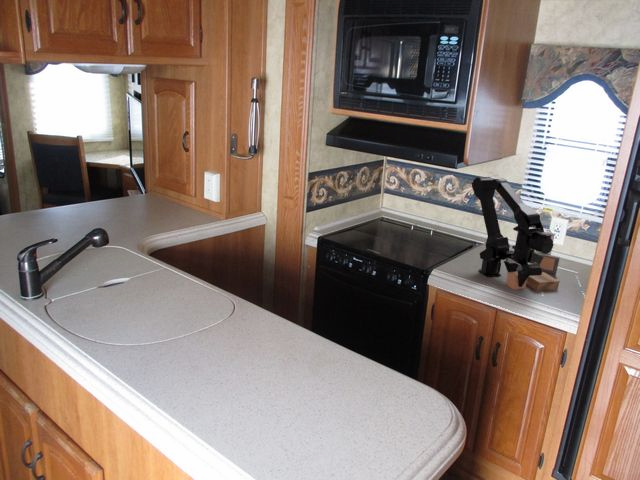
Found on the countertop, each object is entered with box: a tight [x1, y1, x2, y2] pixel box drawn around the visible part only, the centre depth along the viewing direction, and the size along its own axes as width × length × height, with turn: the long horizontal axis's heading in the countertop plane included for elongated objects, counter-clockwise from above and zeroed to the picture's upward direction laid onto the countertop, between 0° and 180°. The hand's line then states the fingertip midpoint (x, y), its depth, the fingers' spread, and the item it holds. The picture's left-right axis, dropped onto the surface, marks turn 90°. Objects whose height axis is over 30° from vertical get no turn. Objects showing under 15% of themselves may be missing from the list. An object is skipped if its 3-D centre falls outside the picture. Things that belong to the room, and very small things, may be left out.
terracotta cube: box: [505, 271, 527, 290], centre depth 207 cm, size 5×5×5 cm
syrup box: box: [533, 227, 556, 264], centre depth 232 cm, size 6×6×14 cm
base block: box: [526, 272, 560, 293], centre depth 209 cm, size 9×9×4 cm
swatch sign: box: [536, 253, 560, 279], centre depth 221 cm, size 8×5×8 cm, turn 66°
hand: (516, 283), depth 208 cm, fingers closed on terracotta cube, 5 cm apart
